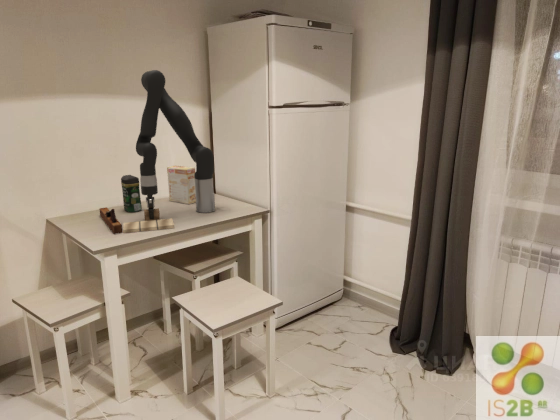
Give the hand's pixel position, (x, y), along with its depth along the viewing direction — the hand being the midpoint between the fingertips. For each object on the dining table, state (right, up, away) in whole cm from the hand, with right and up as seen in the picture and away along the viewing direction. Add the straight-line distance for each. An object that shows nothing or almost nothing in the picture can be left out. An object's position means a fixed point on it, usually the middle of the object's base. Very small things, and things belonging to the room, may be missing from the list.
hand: (151, 216), depth 214 cm
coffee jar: (-15, +3, +17) cm, 23 cm away
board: (+2, -5, -11) cm, 12 cm away
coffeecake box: (+8, +8, +34) cm, 36 cm away
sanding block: (0, -2, 0) cm, 2 cm away
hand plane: (-18, -4, -5) cm, 19 cm away
